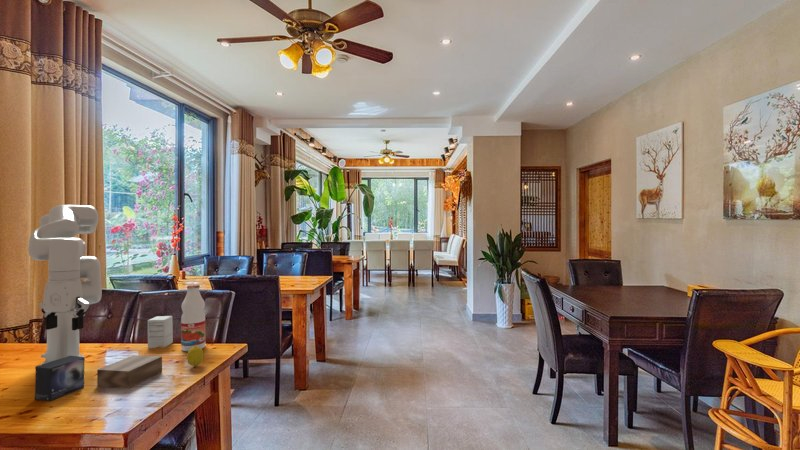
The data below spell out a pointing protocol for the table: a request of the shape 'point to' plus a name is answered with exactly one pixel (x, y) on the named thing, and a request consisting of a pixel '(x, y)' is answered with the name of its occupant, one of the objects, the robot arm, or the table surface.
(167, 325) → the supplement box
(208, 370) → the table surface
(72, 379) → the small box
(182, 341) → the fruit juice
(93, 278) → the robot arm
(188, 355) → the lemon
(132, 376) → the walnut block
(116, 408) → the table surface
